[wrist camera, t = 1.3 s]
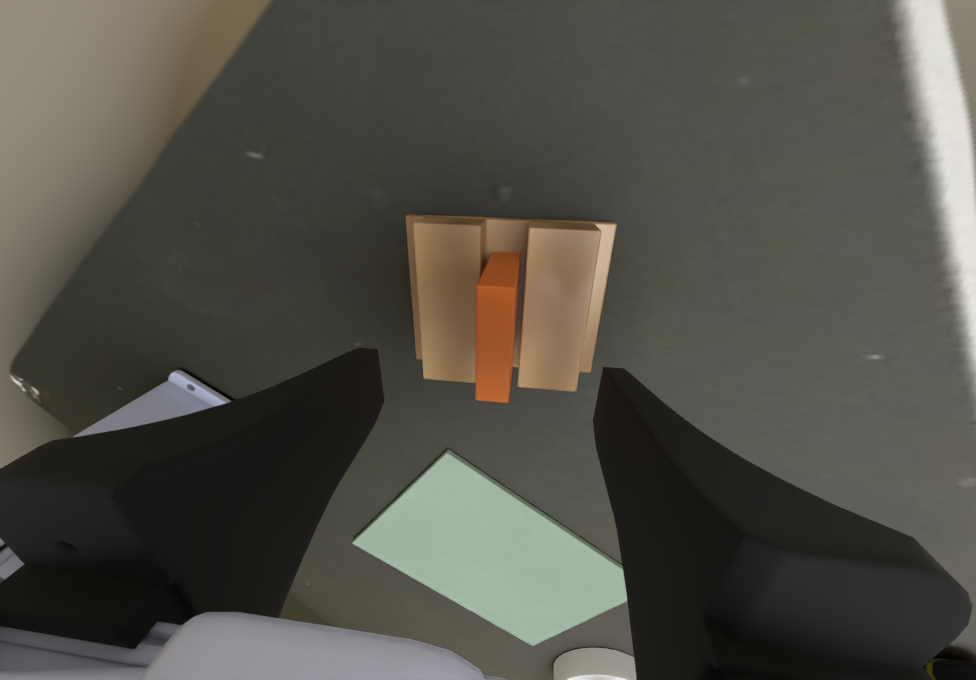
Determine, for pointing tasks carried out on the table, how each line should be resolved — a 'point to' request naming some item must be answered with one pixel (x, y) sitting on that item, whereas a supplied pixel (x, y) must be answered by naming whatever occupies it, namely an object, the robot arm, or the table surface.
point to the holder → (541, 296)
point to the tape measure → (951, 669)
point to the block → (496, 326)
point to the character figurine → (594, 665)
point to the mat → (493, 552)
